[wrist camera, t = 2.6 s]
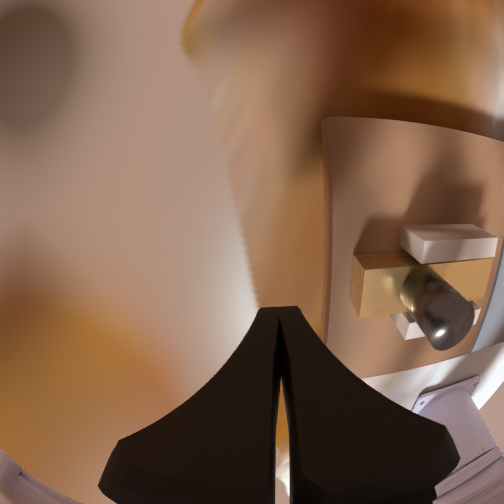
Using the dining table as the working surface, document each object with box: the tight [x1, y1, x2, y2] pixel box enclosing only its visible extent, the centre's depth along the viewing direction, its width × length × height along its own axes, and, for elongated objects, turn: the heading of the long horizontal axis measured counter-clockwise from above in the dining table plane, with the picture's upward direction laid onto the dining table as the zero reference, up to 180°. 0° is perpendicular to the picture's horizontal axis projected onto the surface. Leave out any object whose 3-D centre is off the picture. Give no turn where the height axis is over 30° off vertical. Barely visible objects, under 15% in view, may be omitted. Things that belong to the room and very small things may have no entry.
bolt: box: [350, 251, 493, 351], centre depth 10 cm, size 8×2×5 cm, turn 95°
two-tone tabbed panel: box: [320, 116, 504, 379], centre depth 12 cm, size 20×15×4 cm
